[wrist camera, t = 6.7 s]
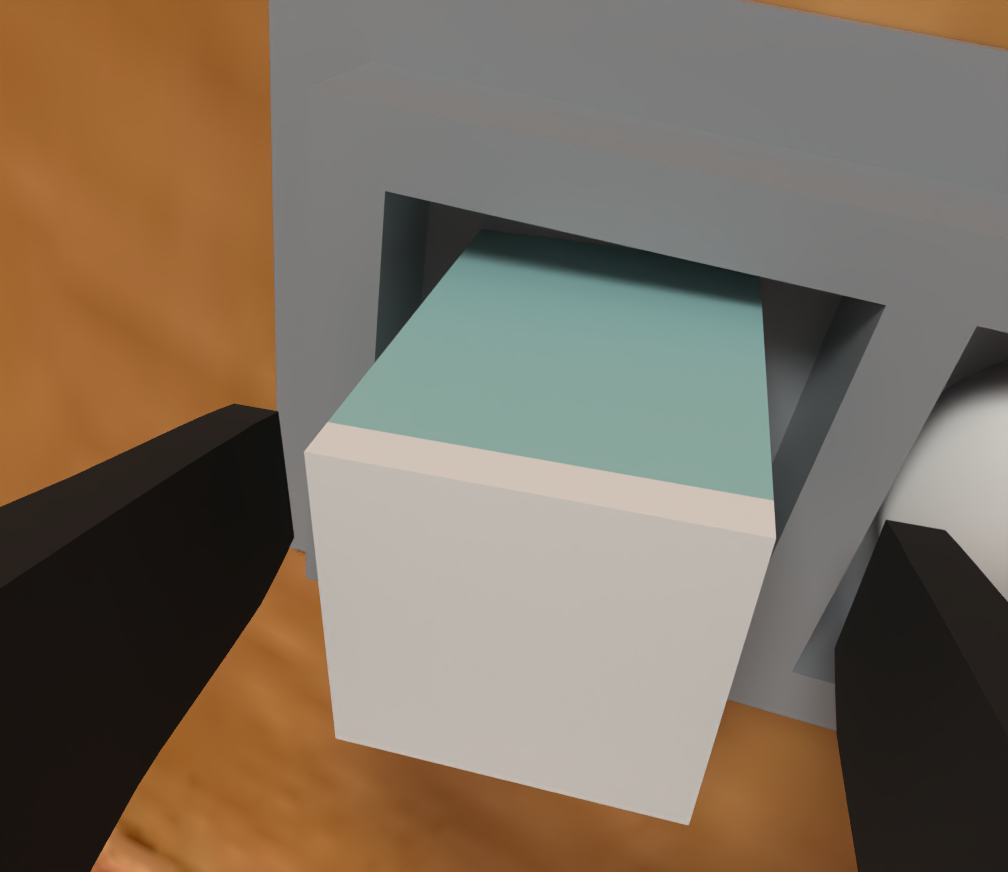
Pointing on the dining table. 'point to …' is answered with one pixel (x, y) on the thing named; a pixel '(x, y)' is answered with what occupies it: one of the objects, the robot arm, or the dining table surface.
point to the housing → (679, 241)
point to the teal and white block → (551, 521)
